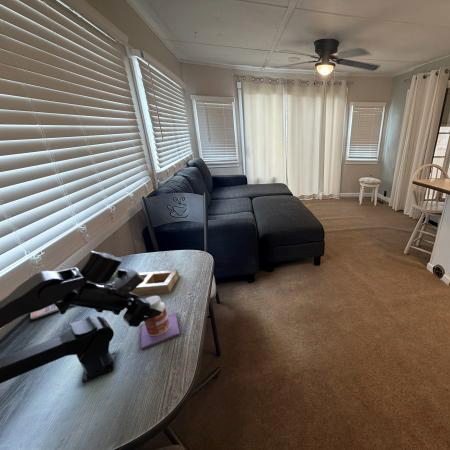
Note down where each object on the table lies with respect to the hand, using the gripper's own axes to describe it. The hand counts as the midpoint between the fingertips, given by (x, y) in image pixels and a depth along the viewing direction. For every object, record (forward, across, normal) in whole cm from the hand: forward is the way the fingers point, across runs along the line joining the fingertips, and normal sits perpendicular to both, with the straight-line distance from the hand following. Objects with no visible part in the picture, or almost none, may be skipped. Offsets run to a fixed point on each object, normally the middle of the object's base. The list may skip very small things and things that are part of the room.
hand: (153, 307), depth 72 cm
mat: (+6, 0, +6) cm, 9 cm away
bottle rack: (+13, +29, 0) cm, 31 cm away
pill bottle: (+6, 0, +6) cm, 9 cm away
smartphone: (-4, +43, +17) cm, 47 cm away
